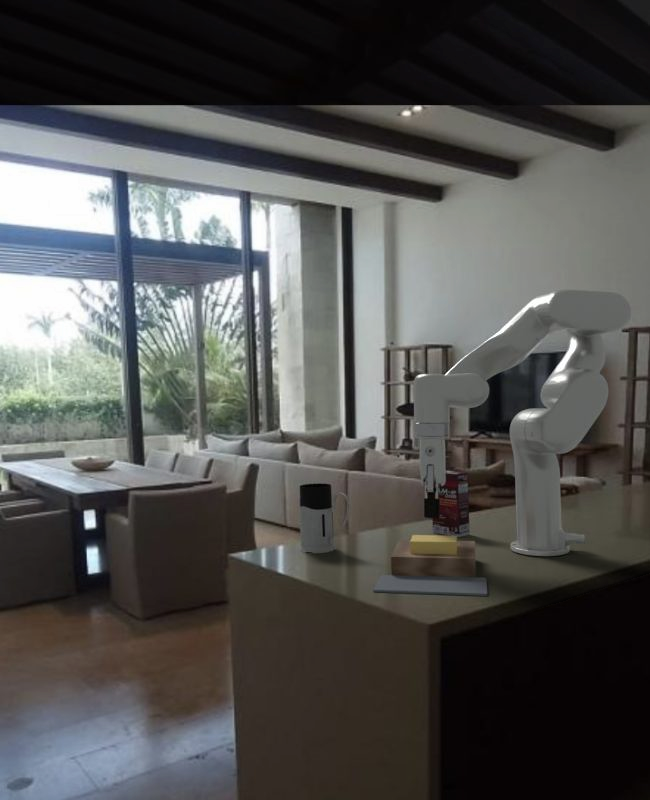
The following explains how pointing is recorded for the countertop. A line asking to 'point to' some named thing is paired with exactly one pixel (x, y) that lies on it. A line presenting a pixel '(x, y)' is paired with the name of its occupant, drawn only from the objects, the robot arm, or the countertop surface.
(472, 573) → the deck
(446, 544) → the yellow block
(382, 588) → the mat
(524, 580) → the countertop surface
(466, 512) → the supplement box
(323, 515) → the glass holder
